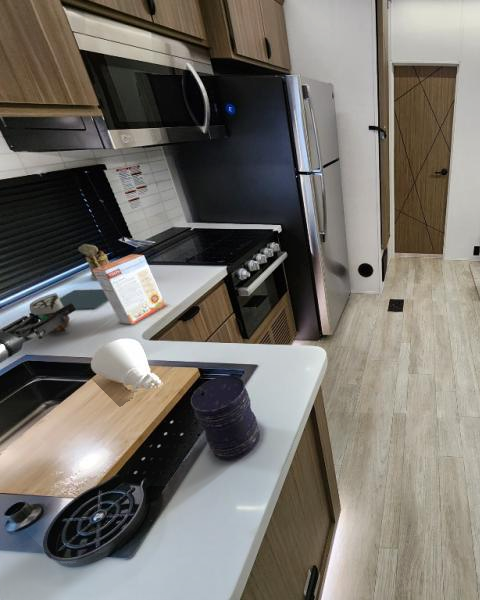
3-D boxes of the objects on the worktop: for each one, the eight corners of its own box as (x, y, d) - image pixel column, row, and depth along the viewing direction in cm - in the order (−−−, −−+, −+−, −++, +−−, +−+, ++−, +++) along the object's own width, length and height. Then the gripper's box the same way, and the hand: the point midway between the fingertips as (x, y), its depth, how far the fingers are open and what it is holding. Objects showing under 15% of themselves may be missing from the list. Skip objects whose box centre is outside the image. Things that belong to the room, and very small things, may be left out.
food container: (47, 322, 115) (31, 297, 110) (70, 317, 118) (56, 292, 113) (40, 339, 106) (22, 313, 101) (65, 333, 109) (49, 307, 104)
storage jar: (264, 420, 78) (250, 372, 71) (255, 457, 70) (237, 407, 62) (220, 426, 77) (200, 378, 69) (205, 465, 68) (181, 414, 61)
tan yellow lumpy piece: (90, 285, 142) (69, 246, 133) (94, 274, 152) (74, 237, 143) (115, 280, 146) (97, 241, 138) (118, 270, 156) (100, 233, 148)
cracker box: (153, 303, 128) (131, 253, 118) (166, 305, 126) (145, 254, 116) (118, 323, 116) (90, 268, 106) (132, 325, 115) (105, 270, 104)
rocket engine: (149, 369, 80) (110, 334, 86) (117, 411, 78) (79, 373, 84) (187, 374, 91) (150, 343, 97) (160, 412, 88) (124, 378, 95)
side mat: (40, 310, 124) (39, 309, 124) (74, 291, 138) (74, 290, 138) (94, 309, 125) (94, 308, 125) (123, 289, 139) (123, 288, 138)
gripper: (-30, 361, 93) (43, 317, 114) (34, 358, 94) (96, 315, 114) (-48, 339, 90) (31, 298, 110) (19, 337, 90) (86, 296, 111)
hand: (64, 307), depth 112 cm, fingers closed on food container, 5 cm apart
